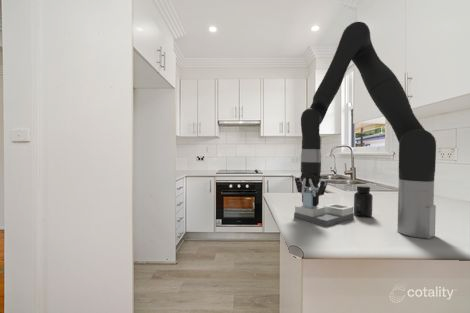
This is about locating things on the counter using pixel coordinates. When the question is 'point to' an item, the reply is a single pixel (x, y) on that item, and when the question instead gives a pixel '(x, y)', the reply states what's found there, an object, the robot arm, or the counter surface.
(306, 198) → the plug
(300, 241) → the counter surface
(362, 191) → the supplement bottle
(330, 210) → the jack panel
